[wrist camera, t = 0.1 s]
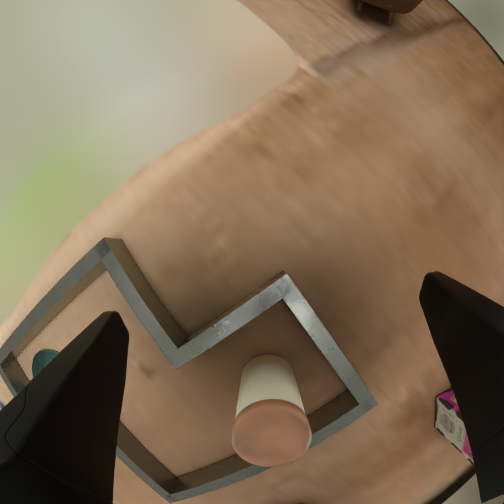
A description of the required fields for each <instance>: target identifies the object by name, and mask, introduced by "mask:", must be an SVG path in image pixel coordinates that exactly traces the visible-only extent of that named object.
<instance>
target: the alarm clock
mask: <svg viewBox="0 0 504 504" xmlns="http://www.w3.org/2000/svg"><path fill="white" fill-rule="evenodd" d="M421 1H422V0H359V4H358V7H357V8H356V9H357V11H361V8H362V6H363V4H364V3H365V2H366V3H368V4H371V5H373V6H376V7H379V8H383V9H387V10H389V16H388V21H387V24H388V25H391V24H392V22H391V21H392V19H393V17H394V15H395V13H396V12H398V13H402V14H405V13H408V12H410V11H412V10H413V9H414V8H415V7H416V6H417V5H418V4H419V3H420V2H421Z"/></svg>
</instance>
